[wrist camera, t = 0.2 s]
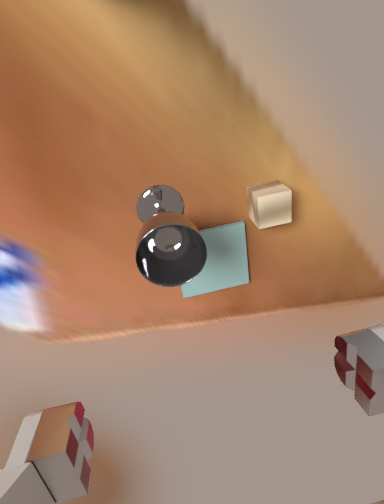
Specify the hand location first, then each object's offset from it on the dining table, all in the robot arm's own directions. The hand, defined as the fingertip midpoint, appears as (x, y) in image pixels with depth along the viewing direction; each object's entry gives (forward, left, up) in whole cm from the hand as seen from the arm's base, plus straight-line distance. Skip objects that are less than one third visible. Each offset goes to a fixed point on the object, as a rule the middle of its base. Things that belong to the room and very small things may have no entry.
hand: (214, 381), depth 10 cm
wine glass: (+9, 0, -39) cm, 40 cm away
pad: (+20, +6, -39) cm, 44 cm away
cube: (+11, +16, -39) cm, 43 cm away
